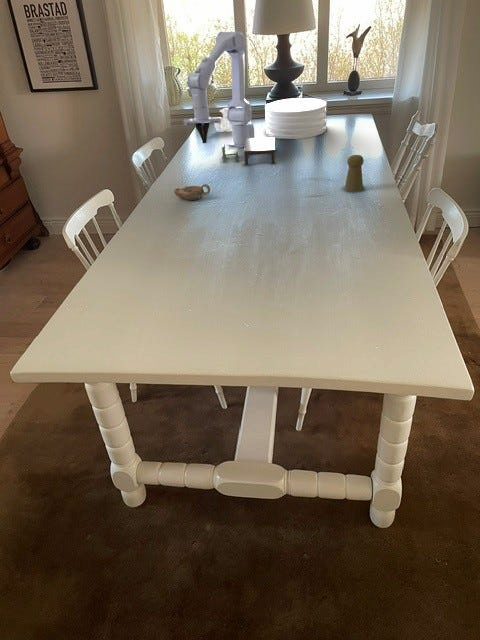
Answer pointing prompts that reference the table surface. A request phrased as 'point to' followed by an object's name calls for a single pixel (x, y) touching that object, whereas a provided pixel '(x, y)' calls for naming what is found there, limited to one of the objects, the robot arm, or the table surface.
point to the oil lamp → (191, 192)
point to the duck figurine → (223, 122)
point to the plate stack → (296, 118)
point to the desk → (259, 148)
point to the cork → (354, 174)
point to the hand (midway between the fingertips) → (204, 142)
